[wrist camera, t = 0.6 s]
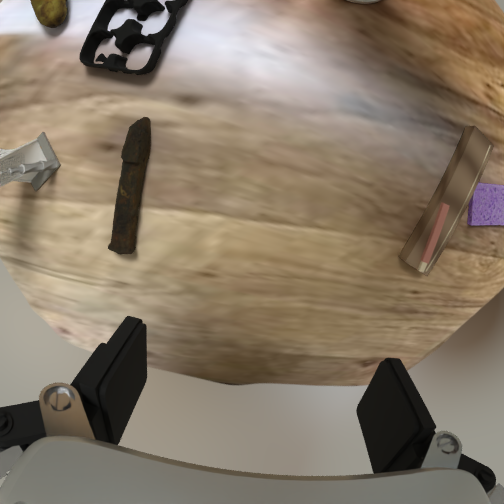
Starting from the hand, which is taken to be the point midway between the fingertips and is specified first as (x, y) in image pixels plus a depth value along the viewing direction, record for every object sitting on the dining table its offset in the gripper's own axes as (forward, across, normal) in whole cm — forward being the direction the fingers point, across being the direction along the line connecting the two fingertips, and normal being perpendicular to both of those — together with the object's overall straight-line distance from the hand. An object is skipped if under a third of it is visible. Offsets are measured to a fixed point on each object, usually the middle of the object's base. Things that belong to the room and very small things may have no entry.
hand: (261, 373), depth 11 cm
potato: (+32, +41, -32) cm, 61 cm away
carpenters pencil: (+29, -25, -3) cm, 38 cm away
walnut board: (+32, -27, -8) cm, 43 cm away
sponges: (+32, -38, -10) cm, 51 cm away
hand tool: (+32, +19, -1) cm, 37 cm away
